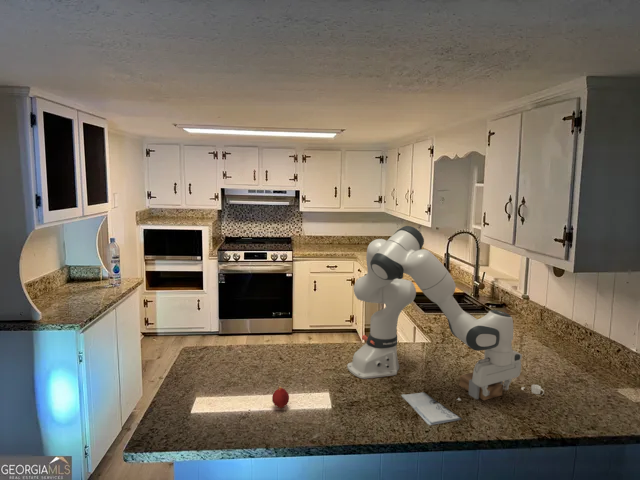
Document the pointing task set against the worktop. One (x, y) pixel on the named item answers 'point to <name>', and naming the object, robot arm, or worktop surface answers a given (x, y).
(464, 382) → the wood grain block
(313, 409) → the worktop surface
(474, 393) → the tunnel
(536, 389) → the white ring-shaped piece
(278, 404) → the onion
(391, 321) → the robot arm
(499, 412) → the worktop surface
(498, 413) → the worktop surface
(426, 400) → the bicycle print towel
